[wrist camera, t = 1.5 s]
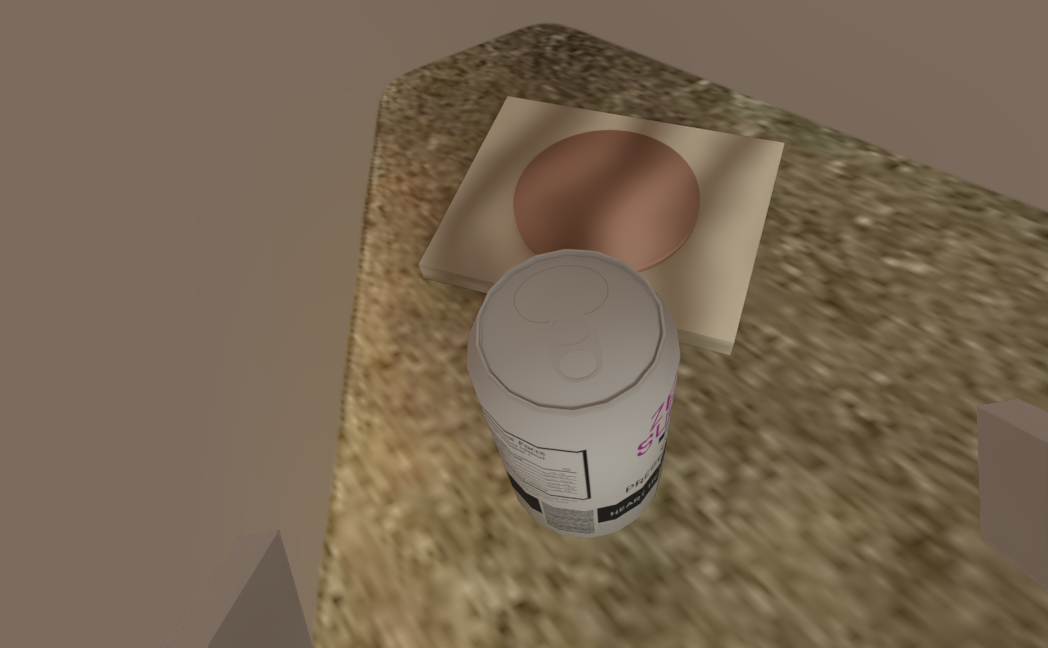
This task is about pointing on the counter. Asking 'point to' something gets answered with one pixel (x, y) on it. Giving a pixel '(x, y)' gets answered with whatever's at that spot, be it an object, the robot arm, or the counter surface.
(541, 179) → the mount board
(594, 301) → the supplement can
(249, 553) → the robot arm
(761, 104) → the counter surface
